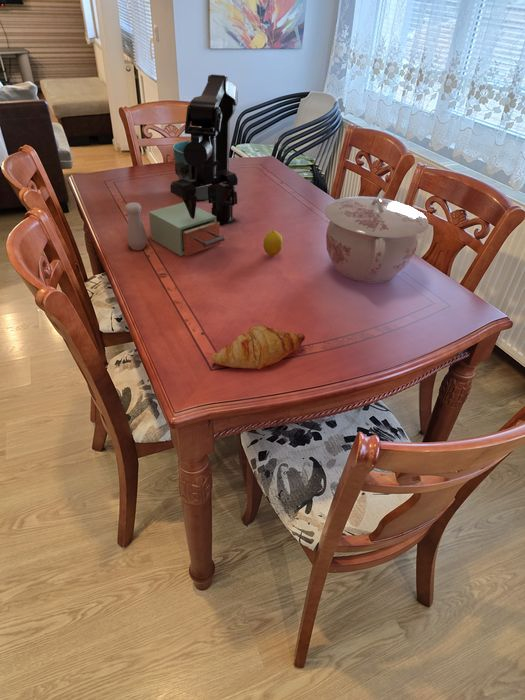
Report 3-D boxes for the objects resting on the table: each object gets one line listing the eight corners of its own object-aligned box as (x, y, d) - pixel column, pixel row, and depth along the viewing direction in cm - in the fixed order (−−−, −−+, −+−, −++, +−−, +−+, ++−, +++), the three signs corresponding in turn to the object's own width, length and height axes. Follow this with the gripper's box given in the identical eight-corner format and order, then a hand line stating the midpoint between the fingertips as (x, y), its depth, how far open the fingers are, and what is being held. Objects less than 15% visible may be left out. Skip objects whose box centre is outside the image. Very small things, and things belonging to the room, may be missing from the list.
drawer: (231, 249, 137) (232, 228, 133) (198, 262, 130) (198, 239, 126) (191, 229, 147) (190, 208, 143) (159, 239, 140) (157, 217, 136)
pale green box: (216, 243, 142) (216, 216, 137) (180, 256, 134) (178, 227, 129) (186, 227, 150) (185, 201, 145) (151, 239, 142) (148, 211, 137)
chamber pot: (354, 241, 149) (366, 175, 136) (430, 274, 134) (453, 204, 121) (295, 267, 133) (303, 195, 120) (375, 308, 118) (394, 230, 105)
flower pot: (233, 194, 177) (234, 147, 166) (204, 207, 164) (203, 157, 154) (196, 183, 184) (194, 137, 173) (165, 195, 171) (161, 146, 161)
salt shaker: (143, 252, 135) (138, 209, 127) (124, 250, 135) (118, 206, 127) (151, 244, 139) (146, 201, 131) (132, 241, 140) (127, 199, 132)
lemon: (275, 262, 135) (277, 236, 130) (259, 256, 137) (260, 231, 132) (284, 255, 138) (287, 230, 133) (268, 250, 140) (270, 225, 136)
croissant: (217, 387, 96) (223, 372, 89) (202, 344, 100) (206, 327, 93) (306, 362, 104) (318, 347, 97) (290, 323, 107) (300, 306, 100)
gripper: (212, 143, 129) (213, 198, 138) (155, 153, 118) (160, 213, 128) (239, 152, 123) (238, 210, 132) (182, 164, 112) (185, 226, 122)
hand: (205, 214), depth 129 cm, fingers open, 9 cm apart
